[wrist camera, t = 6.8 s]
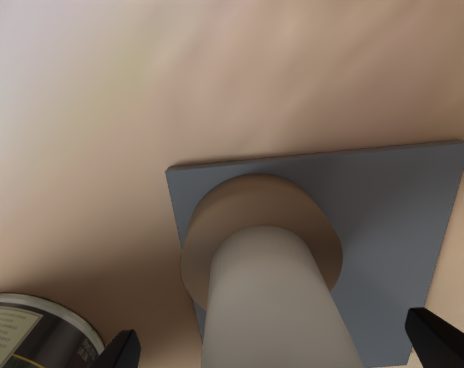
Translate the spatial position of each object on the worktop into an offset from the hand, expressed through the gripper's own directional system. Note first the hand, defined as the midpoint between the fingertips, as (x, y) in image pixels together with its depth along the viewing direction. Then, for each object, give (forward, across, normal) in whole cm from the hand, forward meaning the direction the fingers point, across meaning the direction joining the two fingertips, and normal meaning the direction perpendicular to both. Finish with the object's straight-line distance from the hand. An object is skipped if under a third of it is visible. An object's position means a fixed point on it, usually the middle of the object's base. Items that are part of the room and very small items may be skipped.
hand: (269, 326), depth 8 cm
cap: (+3, 0, 0) cm, 3 cm away
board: (+6, -3, +4) cm, 8 cm away
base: (+5, 0, 0) cm, 5 cm away
